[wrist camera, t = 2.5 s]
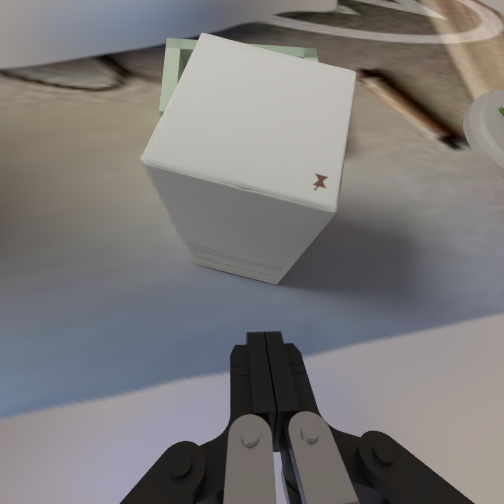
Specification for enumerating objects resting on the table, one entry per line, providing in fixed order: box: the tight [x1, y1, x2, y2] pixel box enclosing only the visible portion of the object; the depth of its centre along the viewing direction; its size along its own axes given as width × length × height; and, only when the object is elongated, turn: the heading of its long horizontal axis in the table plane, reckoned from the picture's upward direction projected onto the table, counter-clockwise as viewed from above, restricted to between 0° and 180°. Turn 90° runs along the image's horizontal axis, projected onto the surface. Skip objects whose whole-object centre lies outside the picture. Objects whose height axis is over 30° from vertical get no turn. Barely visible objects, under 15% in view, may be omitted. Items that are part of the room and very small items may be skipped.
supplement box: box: [140, 33, 356, 285], centre depth 16 cm, size 7×7×13 cm
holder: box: [159, 38, 318, 117], centre depth 24 cm, size 8×13×4 cm, turn 92°
